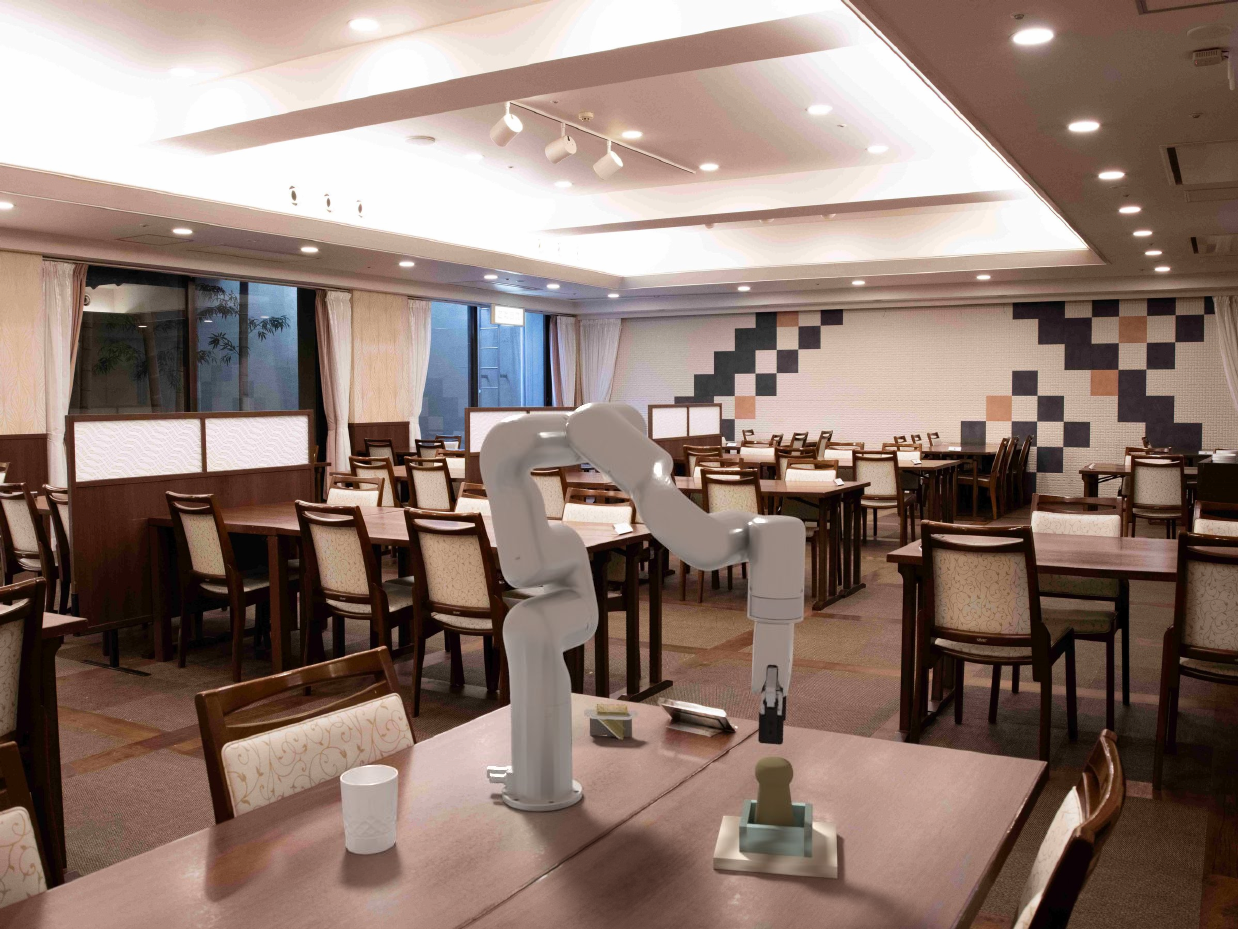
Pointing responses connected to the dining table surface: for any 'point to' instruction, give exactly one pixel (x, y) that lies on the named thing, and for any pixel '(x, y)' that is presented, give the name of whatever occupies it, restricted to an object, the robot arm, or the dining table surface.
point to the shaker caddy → (777, 844)
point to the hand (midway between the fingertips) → (772, 731)
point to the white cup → (369, 808)
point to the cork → (774, 792)
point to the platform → (611, 721)
